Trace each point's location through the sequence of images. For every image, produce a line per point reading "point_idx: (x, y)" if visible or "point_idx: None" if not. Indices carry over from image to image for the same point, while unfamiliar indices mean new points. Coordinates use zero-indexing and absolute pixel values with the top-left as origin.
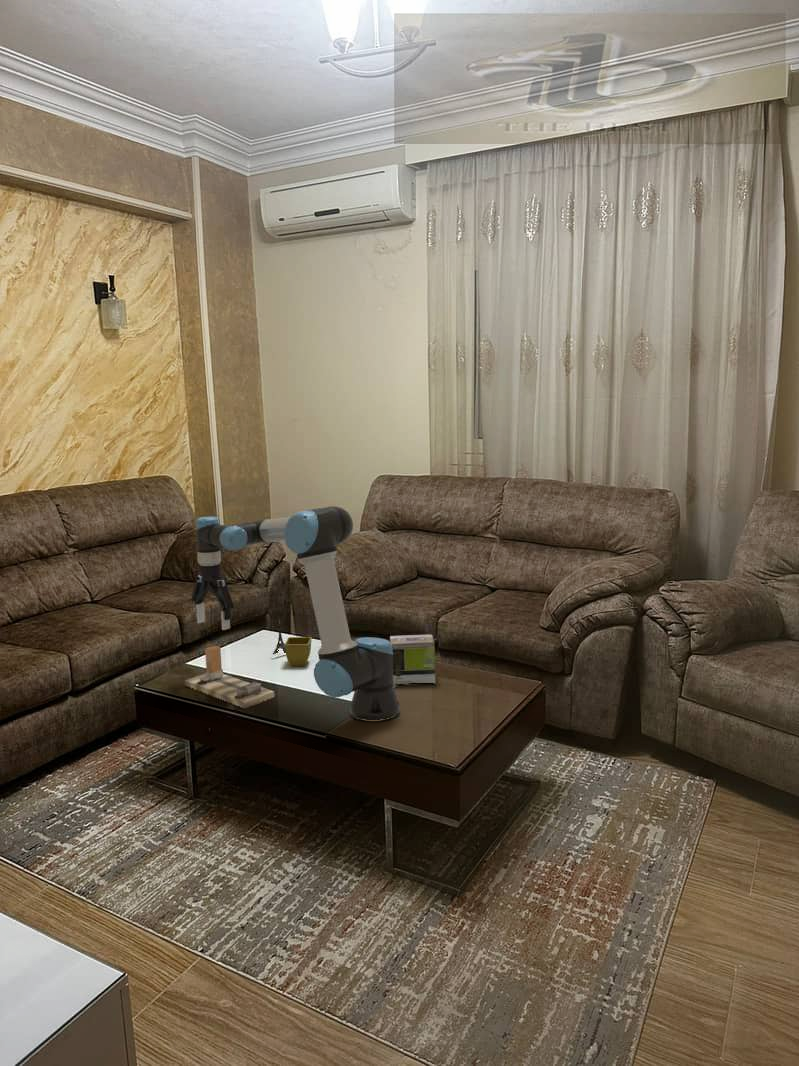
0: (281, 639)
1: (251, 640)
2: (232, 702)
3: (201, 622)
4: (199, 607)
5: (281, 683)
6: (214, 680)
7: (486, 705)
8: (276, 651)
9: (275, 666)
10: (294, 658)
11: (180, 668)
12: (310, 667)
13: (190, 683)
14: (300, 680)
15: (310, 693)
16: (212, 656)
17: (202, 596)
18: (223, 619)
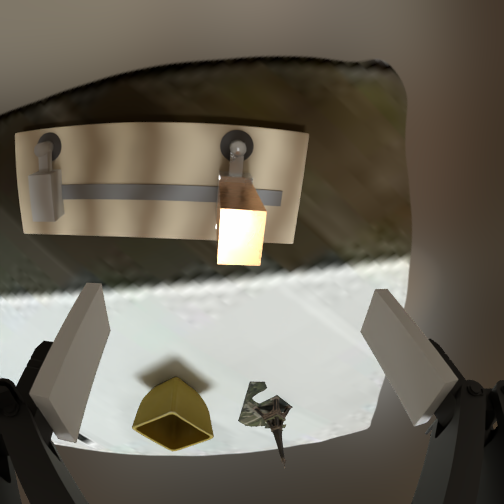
0: (272, 430)
1: (368, 402)
2: (64, 126)
3: (369, 307)
4: (424, 376)
5: None
6: None
7: None
8: (280, 404)
9: (206, 361)
10: (161, 391)
11: (411, 225)
12: (140, 386)
13: (277, 129)
14: None
15: (11, 288)
16: (219, 207)
17: (435, 472)
18: (59, 338)
